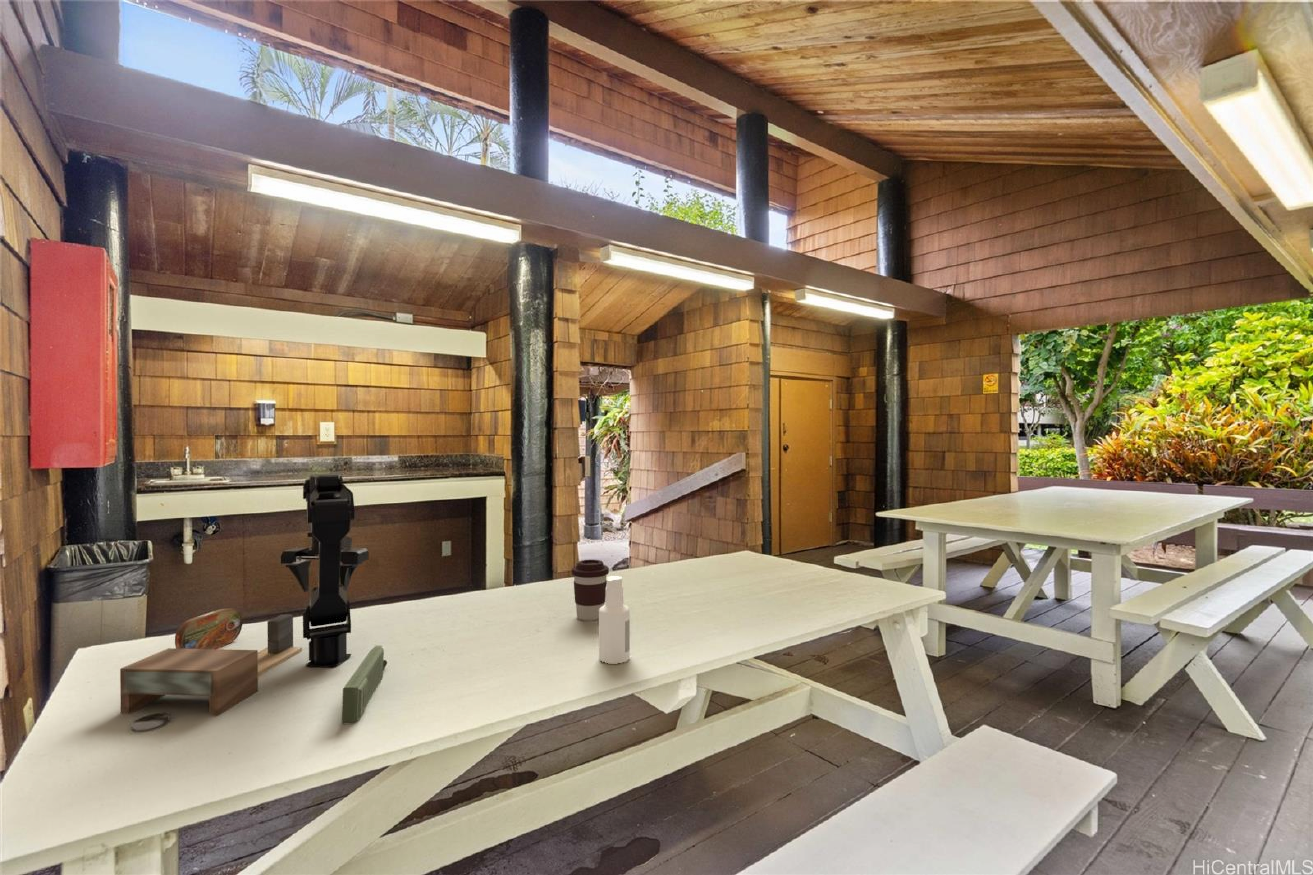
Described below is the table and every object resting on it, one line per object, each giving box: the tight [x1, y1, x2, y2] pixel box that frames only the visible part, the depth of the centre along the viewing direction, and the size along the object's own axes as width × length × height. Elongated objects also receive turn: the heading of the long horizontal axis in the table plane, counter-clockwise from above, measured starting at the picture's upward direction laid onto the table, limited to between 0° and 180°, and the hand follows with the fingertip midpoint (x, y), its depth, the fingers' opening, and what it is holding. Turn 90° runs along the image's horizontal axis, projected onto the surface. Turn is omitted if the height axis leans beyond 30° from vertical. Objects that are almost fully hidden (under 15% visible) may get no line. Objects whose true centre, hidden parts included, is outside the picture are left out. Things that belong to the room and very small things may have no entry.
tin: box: [174, 607, 243, 649], centre depth 139 cm, size 15×3×8 cm, turn 168°
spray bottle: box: [598, 575, 631, 665], centre depth 133 cm, size 7×7×18 cm
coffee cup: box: [571, 559, 610, 622], centre depth 162 cm, size 10×10×15 cm
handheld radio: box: [341, 645, 388, 725], centre depth 116 cm, size 7×3×25 cm
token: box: [131, 712, 171, 733], centre depth 103 cm, size 5×5×1 cm
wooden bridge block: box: [119, 647, 259, 717], centre depth 112 cm, size 18×10×8 cm, turn 87°
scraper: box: [258, 613, 303, 677], centre depth 127 cm, size 8×22×8 cm, turn 177°
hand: (325, 591), depth 143 cm, fingers open, 9 cm apart
